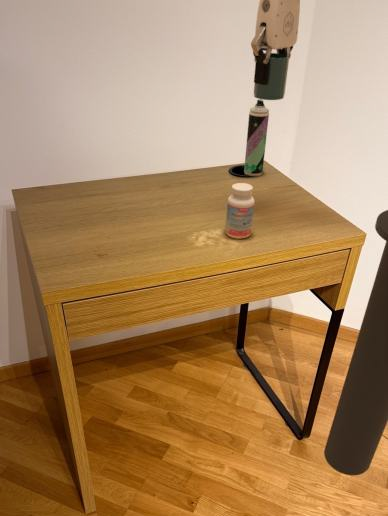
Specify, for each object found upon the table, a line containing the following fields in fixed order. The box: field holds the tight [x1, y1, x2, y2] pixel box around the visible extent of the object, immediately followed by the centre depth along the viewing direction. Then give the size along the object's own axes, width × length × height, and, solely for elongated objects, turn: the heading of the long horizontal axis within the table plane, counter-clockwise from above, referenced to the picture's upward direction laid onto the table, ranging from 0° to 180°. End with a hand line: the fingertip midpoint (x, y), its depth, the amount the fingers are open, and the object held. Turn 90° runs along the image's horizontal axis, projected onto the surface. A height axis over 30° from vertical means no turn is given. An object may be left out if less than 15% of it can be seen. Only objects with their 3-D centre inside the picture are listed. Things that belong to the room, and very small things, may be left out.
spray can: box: [243, 99, 270, 177], centre depth 141 cm, size 6×6×20 cm
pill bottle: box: [224, 182, 255, 240], centre depth 112 cm, size 6×6×11 cm
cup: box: [253, 52, 290, 101], centre depth 108 cm, size 7×7×8 cm
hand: (270, 80), depth 108 cm, fingers closed on cup, 7 cm apart
